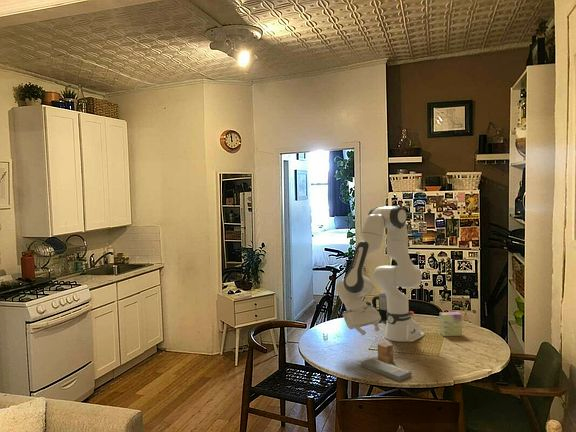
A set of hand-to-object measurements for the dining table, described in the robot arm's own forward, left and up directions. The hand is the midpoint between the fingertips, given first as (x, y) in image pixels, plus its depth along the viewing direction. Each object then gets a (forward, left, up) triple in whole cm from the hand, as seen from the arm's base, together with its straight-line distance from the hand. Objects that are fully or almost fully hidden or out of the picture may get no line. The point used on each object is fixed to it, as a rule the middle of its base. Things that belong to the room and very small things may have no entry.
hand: (371, 332), depth 222 cm
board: (+9, +16, -12) cm, 22 cm away
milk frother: (-51, -40, -12) cm, 66 cm away
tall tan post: (0, +8, -12) cm, 15 cm away
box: (-56, +4, -12) cm, 58 cm away
